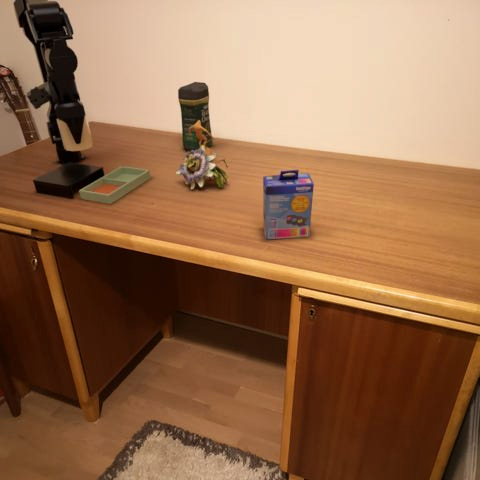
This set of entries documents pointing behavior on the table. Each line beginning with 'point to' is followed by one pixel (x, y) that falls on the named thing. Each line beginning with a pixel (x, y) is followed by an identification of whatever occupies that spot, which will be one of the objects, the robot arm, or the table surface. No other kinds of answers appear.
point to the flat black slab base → (66, 179)
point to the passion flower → (201, 168)
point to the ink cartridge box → (287, 205)
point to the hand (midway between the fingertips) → (77, 139)
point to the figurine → (201, 135)
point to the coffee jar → (194, 113)
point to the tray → (115, 184)
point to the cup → (69, 140)
